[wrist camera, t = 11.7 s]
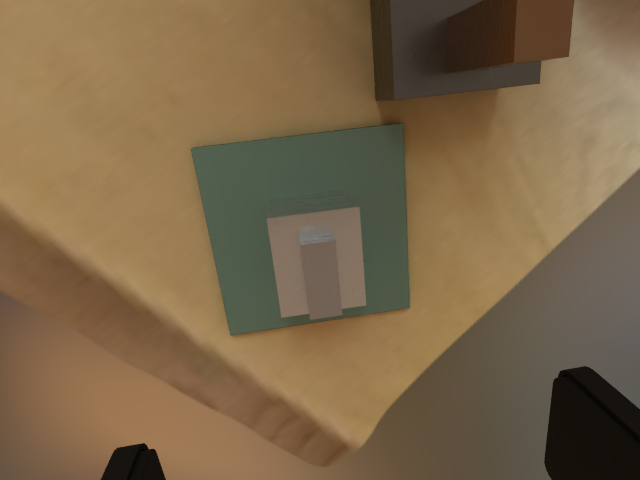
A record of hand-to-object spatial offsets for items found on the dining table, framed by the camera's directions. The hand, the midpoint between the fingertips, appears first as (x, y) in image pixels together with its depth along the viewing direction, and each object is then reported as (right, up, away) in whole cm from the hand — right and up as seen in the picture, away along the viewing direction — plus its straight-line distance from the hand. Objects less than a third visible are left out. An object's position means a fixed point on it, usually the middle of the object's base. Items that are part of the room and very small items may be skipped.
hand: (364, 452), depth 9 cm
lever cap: (-2, +5, +17) cm, 18 cm away
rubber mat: (-2, +5, +18) cm, 19 cm away
